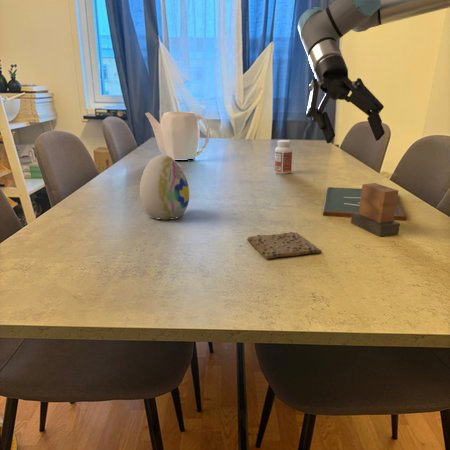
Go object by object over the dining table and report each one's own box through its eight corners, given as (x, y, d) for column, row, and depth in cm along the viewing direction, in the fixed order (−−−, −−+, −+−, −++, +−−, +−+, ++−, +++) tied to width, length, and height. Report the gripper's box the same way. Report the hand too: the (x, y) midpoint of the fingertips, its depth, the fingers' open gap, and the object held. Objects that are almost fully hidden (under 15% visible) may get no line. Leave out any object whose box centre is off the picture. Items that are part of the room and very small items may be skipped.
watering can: (152, 156, 193) (148, 110, 184) (211, 156, 192) (210, 110, 184) (145, 162, 179) (140, 113, 171) (208, 162, 178) (207, 113, 170)
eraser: (398, 234, 97) (406, 191, 92) (379, 236, 95) (387, 193, 91) (368, 220, 106) (373, 181, 101) (350, 222, 104) (355, 183, 100)
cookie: (322, 252, 86) (323, 248, 86) (266, 259, 83) (266, 255, 83) (297, 234, 96) (297, 230, 96) (246, 239, 93) (246, 235, 93)
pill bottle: (291, 171, 161) (293, 139, 156) (290, 174, 156) (292, 142, 151) (274, 170, 162) (276, 139, 157) (273, 173, 157) (274, 141, 152)
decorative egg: (177, 224, 104) (173, 160, 97) (133, 219, 107) (126, 157, 101) (197, 211, 114) (195, 152, 107) (156, 207, 118) (152, 149, 111)
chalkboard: (394, 193, 130) (395, 190, 129) (405, 220, 106) (406, 216, 105) (326, 190, 134) (327, 186, 134) (322, 215, 110) (323, 211, 109)
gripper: (363, 78, 114) (390, 145, 108) (277, 78, 106) (302, 151, 101) (379, 54, 107) (409, 125, 101) (289, 52, 99) (316, 129, 94)
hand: (356, 138), depth 101 cm, fingers open, 13 cm apart
